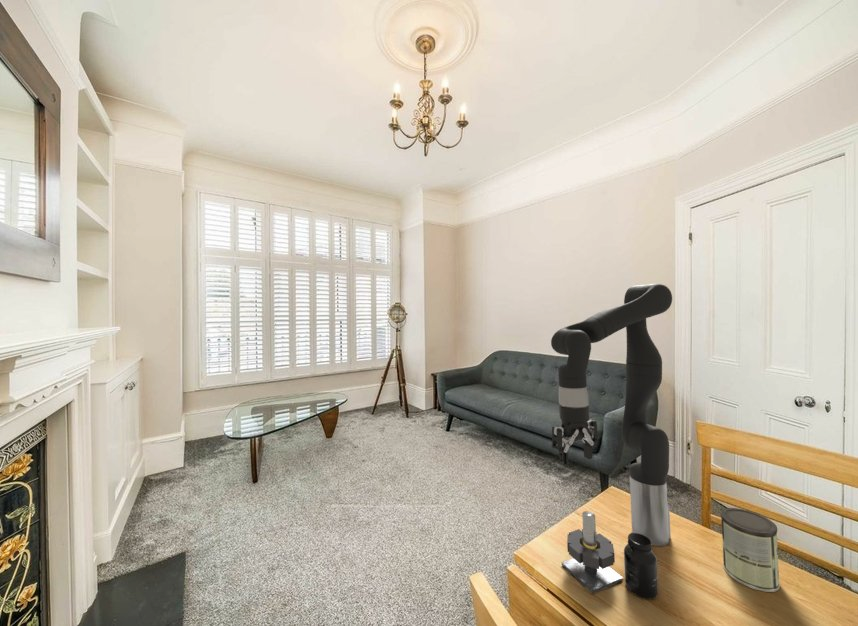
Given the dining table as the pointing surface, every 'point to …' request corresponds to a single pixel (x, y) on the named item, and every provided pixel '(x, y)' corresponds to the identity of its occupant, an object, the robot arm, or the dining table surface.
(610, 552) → the ring
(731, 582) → the dining table surface
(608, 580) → the metal peg stand
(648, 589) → the supplement bottle
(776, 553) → the coffee can
